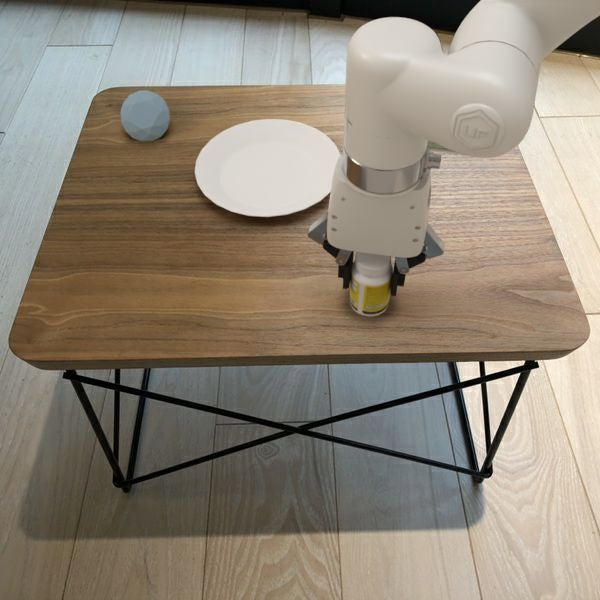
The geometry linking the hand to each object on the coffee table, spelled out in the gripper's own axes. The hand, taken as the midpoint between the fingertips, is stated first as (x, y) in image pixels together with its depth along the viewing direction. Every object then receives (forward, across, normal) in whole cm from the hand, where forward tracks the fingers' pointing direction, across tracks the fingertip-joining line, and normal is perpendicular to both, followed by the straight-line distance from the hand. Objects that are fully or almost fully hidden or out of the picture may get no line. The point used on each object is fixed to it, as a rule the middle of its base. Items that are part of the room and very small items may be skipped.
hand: (370, 282), depth 71 cm
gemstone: (+4, +38, -27) cm, 47 cm away
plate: (+4, +17, -20) cm, 27 cm away
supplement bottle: (+4, 0, 0) cm, 4 cm away
